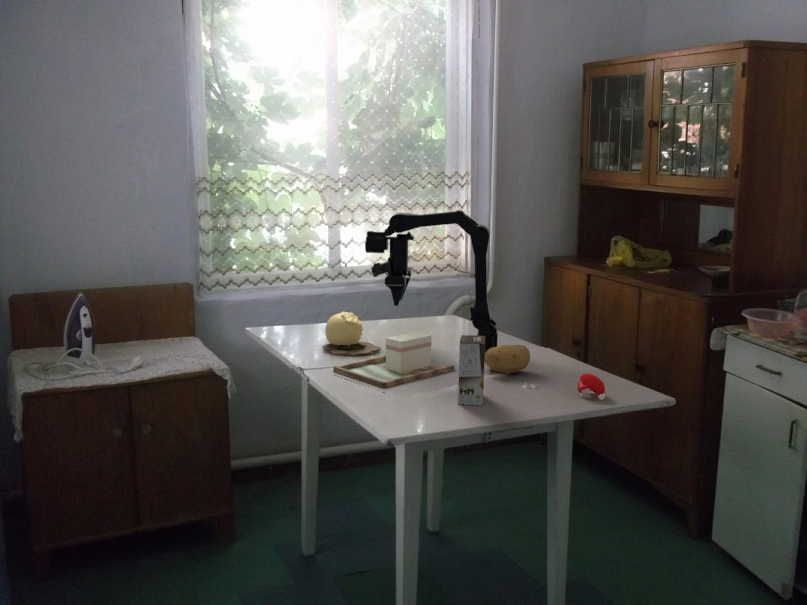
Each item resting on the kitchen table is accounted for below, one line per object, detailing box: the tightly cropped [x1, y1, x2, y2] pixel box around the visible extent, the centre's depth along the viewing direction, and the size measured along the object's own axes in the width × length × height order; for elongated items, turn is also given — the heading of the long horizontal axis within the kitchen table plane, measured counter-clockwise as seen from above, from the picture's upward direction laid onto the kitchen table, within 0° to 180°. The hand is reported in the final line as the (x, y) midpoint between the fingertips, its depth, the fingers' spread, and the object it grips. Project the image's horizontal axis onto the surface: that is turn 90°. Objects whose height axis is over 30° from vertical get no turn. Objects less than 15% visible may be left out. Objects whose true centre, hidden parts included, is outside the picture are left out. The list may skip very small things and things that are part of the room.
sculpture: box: [324, 311, 364, 346], centre depth 269 cm, size 12×12×11 cm
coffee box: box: [457, 334, 486, 406], centre depth 213 cm, size 9×6×16 cm
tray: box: [333, 354, 455, 389], centre depth 236 cm, size 27×21×2 cm
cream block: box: [385, 331, 432, 373], centre depth 239 cm, size 12×6×9 cm, turn 133°
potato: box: [485, 344, 531, 374], centre depth 239 cm, size 10×14×8 cm
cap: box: [576, 372, 606, 396], centre depth 218 cm, size 8×6×6 cm
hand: (398, 303), depth 263 cm, fingers open, 9 cm apart
